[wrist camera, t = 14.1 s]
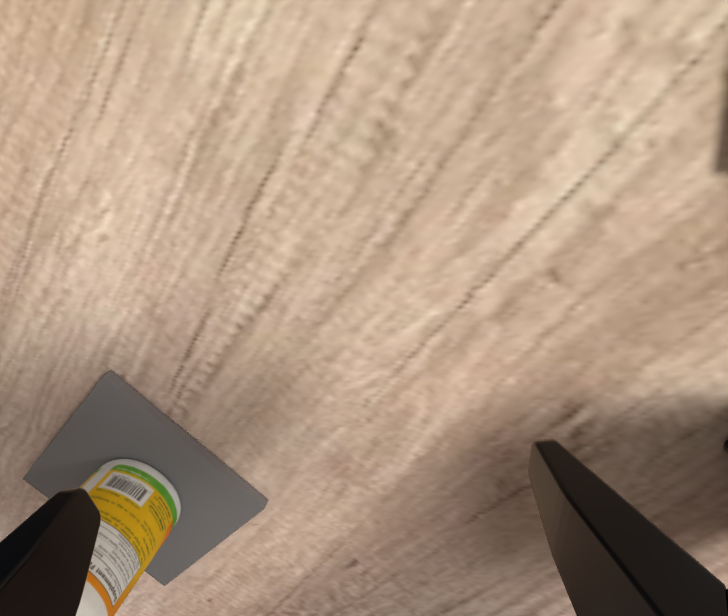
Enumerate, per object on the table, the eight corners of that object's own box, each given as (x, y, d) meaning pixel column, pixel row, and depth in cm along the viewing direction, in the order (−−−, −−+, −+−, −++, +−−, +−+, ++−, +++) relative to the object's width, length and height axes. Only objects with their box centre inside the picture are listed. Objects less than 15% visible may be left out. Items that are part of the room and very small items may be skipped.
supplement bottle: (125, 532, 29) (-23, 719, 20) (81, 462, 27) (-102, 633, 18) (199, 524, 27) (74, 723, 18) (157, 449, 25) (-3, 629, 17)
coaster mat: (268, 500, 26) (264, 508, 26) (169, 577, 31) (164, 586, 30) (111, 369, 25) (103, 376, 24) (31, 471, 29) (22, 478, 29)
